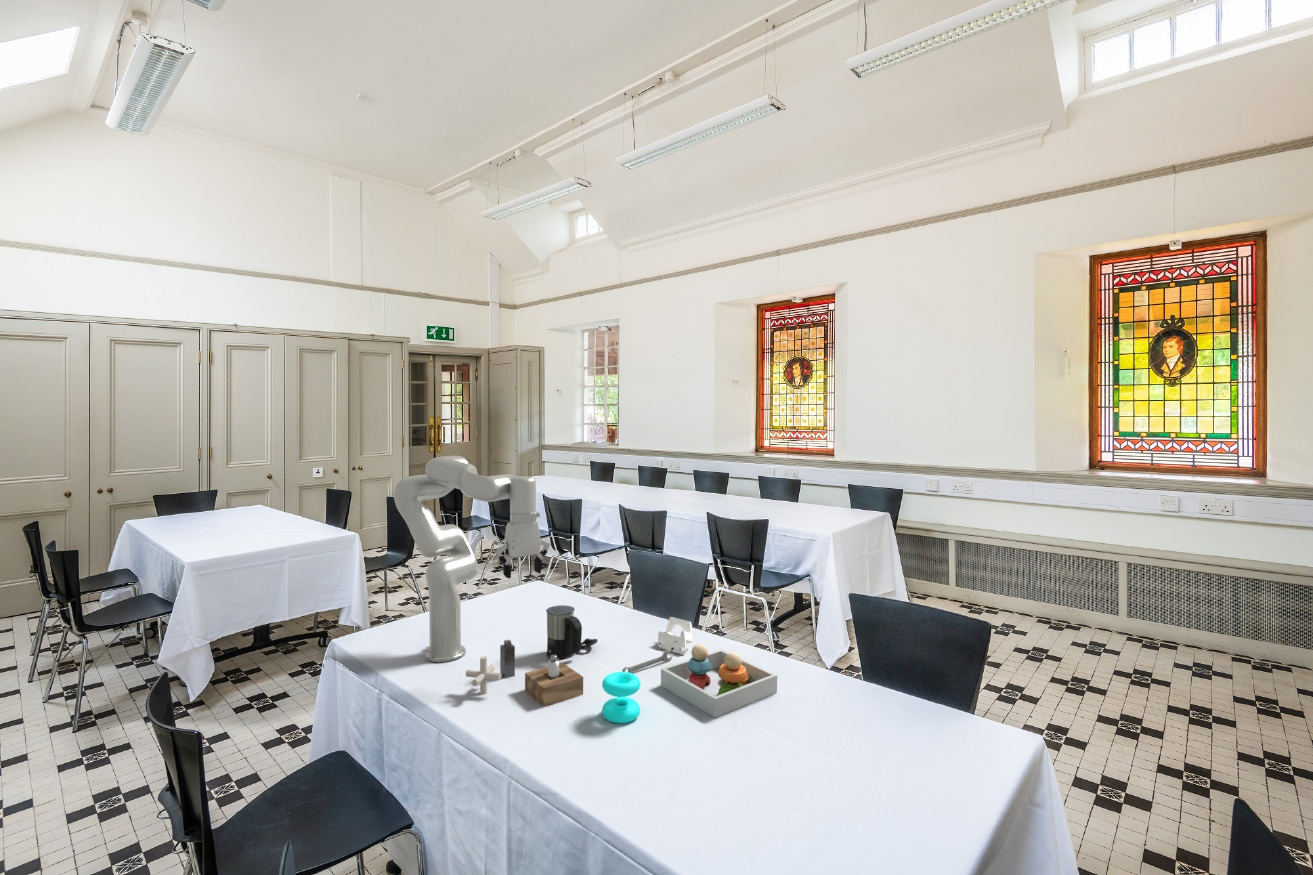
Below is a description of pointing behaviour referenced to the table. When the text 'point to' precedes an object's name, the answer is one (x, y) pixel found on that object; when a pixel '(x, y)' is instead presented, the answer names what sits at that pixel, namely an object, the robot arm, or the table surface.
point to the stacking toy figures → (729, 672)
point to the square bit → (507, 659)
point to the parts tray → (726, 702)
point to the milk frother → (564, 632)
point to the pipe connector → (483, 675)
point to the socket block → (553, 685)
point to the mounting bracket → (674, 641)
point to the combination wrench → (649, 662)
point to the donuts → (621, 697)
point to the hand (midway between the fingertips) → (522, 574)
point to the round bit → (553, 667)
